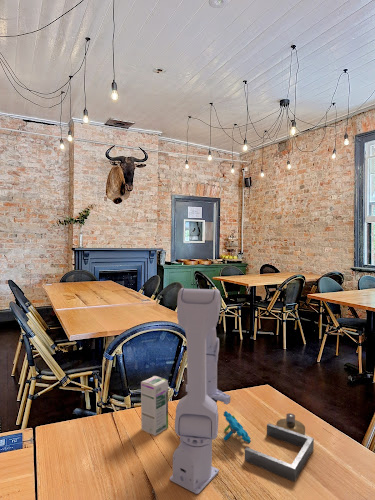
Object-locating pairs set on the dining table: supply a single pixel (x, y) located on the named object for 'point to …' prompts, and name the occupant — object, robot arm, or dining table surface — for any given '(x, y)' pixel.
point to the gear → (235, 428)
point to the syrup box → (154, 405)
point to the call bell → (291, 424)
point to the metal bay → (277, 465)
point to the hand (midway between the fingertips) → (207, 420)
